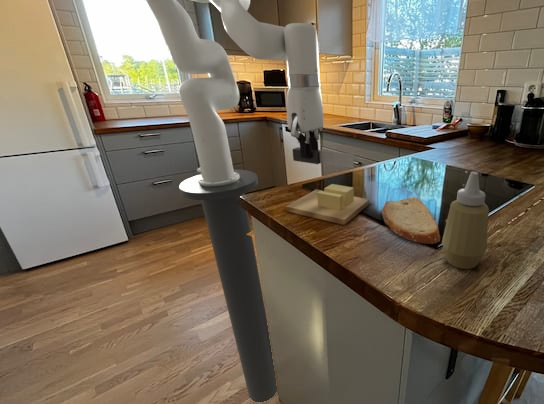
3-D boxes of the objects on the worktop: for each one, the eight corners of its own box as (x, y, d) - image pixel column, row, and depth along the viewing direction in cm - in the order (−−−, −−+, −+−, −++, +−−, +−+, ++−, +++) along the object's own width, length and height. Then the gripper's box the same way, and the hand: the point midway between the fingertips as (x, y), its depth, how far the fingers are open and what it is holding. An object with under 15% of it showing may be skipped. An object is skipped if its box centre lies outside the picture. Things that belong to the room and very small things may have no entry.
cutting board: (286, 211, 80) (285, 206, 79) (316, 193, 91) (316, 189, 91) (344, 225, 72) (344, 219, 72) (369, 204, 84) (369, 199, 83)
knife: (293, 160, 81) (292, 148, 80) (298, 158, 83) (297, 146, 82) (351, 169, 74) (351, 155, 72) (355, 166, 76) (355, 153, 74)
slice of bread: (434, 248, 62) (436, 232, 61) (361, 227, 71) (361, 213, 69) (458, 216, 76) (460, 202, 75) (394, 201, 85) (395, 189, 83)
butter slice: (317, 205, 79) (316, 192, 78) (320, 203, 80) (320, 190, 79) (340, 210, 76) (339, 196, 75) (343, 208, 78) (342, 194, 76)
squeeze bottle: (441, 247, 63) (450, 164, 55) (482, 253, 60) (497, 168, 53) (438, 269, 56) (449, 178, 48) (484, 277, 53) (502, 182, 46)
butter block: (325, 201, 82) (324, 188, 81) (332, 196, 85) (332, 183, 84) (347, 205, 79) (346, 192, 78) (354, 200, 82) (353, 187, 81)
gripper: (310, 81, 80) (315, 148, 88) (269, 83, 67) (279, 162, 75) (334, 81, 77) (337, 151, 85) (296, 83, 64) (303, 166, 71)
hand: (309, 155), depth 80 cm, fingers closed on knife, 2 cm apart
